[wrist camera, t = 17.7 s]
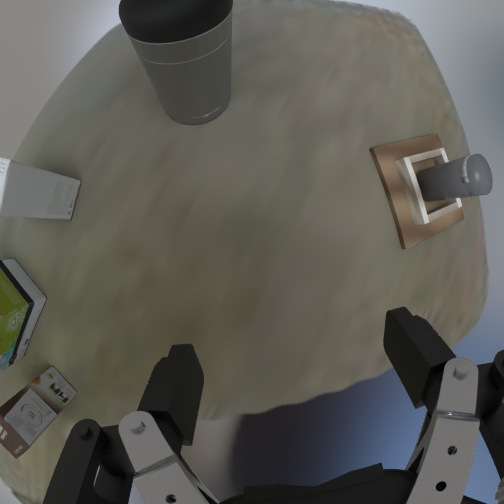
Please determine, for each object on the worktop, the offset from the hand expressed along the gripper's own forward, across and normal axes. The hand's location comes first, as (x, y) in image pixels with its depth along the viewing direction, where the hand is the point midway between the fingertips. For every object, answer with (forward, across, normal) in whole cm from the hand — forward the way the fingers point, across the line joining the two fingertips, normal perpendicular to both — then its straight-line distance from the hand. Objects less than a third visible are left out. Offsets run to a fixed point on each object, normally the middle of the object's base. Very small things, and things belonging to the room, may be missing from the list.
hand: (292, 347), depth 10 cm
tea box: (+18, +42, +5) cm, 46 cm away
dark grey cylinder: (+27, -25, 0) cm, 37 cm away
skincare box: (+24, +29, -9) cm, 38 cm away
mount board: (+28, -25, 0) cm, 38 cm away
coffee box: (+14, +40, +20) cm, 46 cm away
